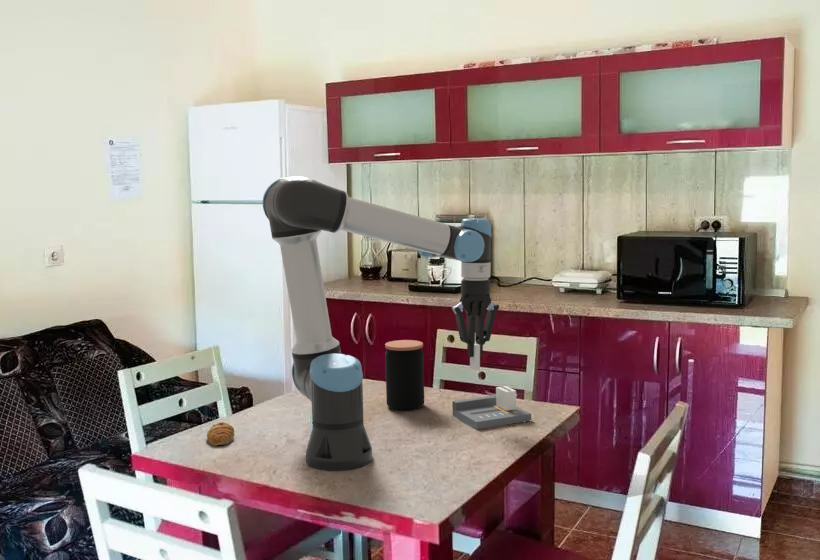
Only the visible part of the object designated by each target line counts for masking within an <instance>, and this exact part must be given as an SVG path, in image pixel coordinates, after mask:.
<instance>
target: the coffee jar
mask: <svg viewBox="0 0 820 560" xmlns="http://www.w3.org/2000/svg"><path fill="white" fill-rule="evenodd" d="M384 345H385V346H384V347H385V350H386V351H385V352H384V357H385V358H384V359H385V387H386V388H385V390H386V393H385V395H386V397H385V398H386V405H387V407H388V409H390V410H392V409H393V410H392V411H396V410H397V412H410V411H412V412H413V411H418V410H420V409H422V407H423V406H424V404H425V372H424V371H425V369H424V366H425V365H424V352H423V347H424V343H423V342H422V341H420V340H413V339H401V340H400V339H399V340H392V341H391V340H390V341H387V342H385V344H384Z"/></svg>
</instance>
